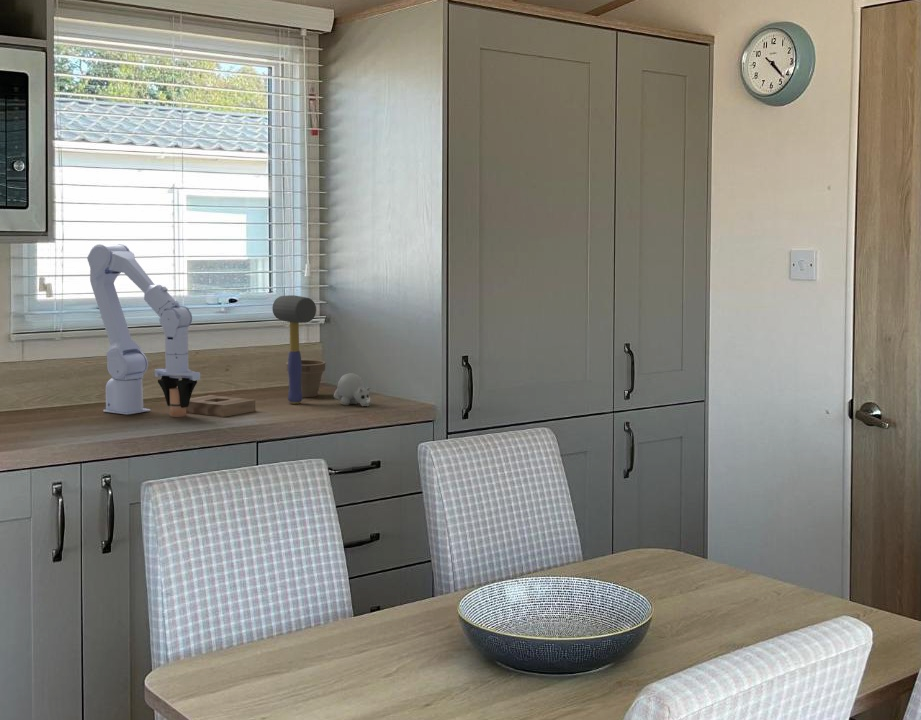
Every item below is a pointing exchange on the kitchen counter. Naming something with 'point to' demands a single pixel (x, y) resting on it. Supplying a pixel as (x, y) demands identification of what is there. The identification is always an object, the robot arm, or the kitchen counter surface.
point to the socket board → (220, 405)
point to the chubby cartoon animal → (352, 390)
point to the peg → (176, 404)
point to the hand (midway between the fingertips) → (177, 406)
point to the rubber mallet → (294, 336)
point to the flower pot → (310, 377)
